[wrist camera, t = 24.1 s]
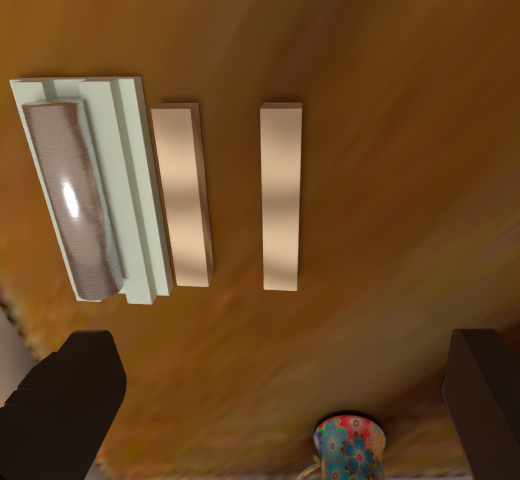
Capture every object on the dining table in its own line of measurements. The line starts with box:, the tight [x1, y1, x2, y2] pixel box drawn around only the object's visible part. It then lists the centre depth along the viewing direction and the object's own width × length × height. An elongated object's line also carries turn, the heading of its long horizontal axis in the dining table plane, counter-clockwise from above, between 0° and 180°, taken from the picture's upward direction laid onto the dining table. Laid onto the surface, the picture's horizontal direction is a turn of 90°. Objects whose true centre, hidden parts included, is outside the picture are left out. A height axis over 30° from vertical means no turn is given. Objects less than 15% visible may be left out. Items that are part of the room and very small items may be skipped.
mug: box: [294, 415, 386, 480], centre depth 44 cm, size 12×9×11 cm
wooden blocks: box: [151, 102, 302, 291], centre depth 34 cm, size 16×11×2 cm
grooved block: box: [9, 76, 173, 304], centre depth 35 cm, size 20×10×3 cm, turn 1°
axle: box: [21, 98, 124, 301], centre depth 32 cm, size 16×4×4 cm, turn 1°
